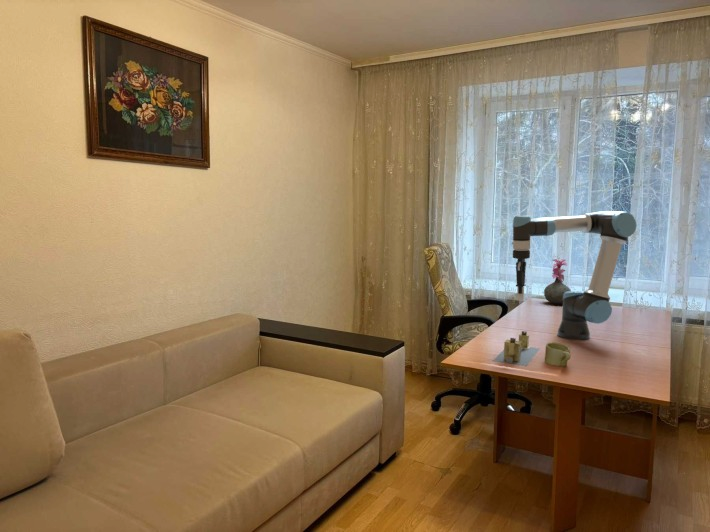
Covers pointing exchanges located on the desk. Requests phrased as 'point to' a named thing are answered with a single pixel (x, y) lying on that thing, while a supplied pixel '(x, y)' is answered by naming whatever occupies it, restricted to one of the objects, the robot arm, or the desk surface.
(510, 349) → the trammel head
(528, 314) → the desk surface
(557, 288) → the vase
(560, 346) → the mug
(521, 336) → the rail
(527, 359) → the board
